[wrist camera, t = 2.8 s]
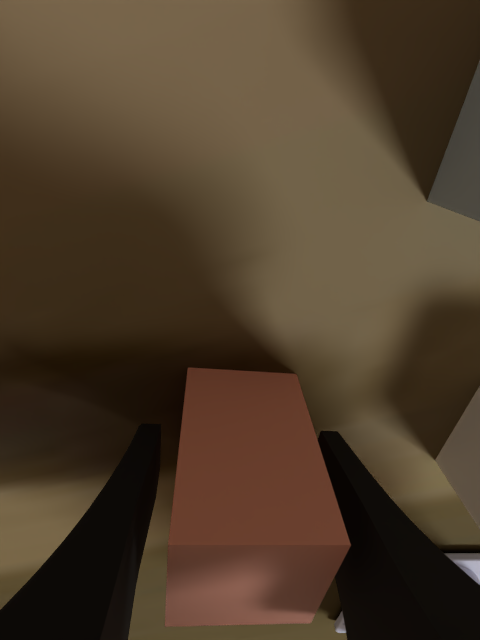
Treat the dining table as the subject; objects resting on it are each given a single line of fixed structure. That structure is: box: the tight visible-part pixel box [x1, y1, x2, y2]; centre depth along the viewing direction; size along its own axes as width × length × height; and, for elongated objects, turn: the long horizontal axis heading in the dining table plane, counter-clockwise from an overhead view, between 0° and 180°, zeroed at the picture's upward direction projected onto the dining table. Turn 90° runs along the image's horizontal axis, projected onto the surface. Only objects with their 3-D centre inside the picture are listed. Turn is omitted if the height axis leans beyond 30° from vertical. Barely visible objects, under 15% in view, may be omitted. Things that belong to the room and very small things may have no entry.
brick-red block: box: [165, 367, 351, 627], centre depth 11 cm, size 4×4×6 cm
